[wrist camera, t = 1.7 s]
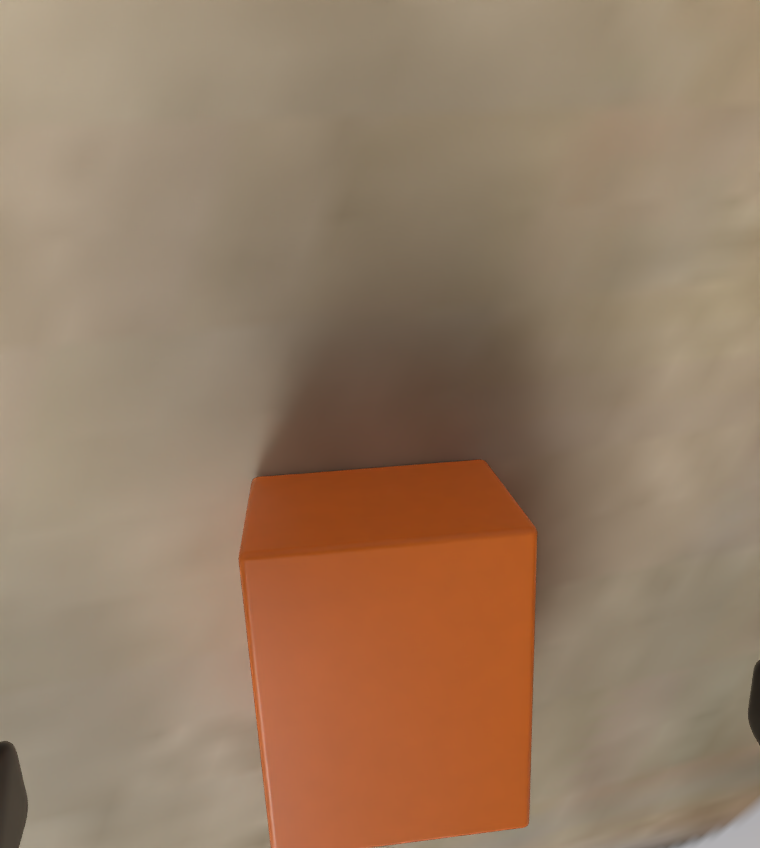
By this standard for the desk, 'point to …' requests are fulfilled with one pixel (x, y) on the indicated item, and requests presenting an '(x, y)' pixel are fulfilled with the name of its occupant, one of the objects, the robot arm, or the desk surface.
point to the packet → (390, 653)
